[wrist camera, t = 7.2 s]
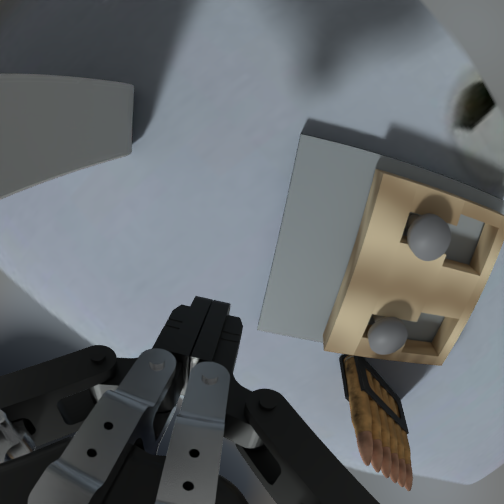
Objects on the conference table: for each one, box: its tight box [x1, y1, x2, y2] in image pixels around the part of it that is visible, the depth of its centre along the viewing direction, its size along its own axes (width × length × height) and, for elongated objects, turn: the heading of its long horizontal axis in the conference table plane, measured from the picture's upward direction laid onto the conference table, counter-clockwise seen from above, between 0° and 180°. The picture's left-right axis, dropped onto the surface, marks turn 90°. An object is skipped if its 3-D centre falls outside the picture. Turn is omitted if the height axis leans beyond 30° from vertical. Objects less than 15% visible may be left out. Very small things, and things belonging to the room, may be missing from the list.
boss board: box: [257, 134, 504, 355], centre depth 22 cm, size 16×18×5 cm
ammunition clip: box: [339, 354, 413, 491], centre depth 24 cm, size 11×2×12 cm, turn 42°
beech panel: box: [323, 169, 504, 366], centre depth 22 cm, size 14×12×2 cm
